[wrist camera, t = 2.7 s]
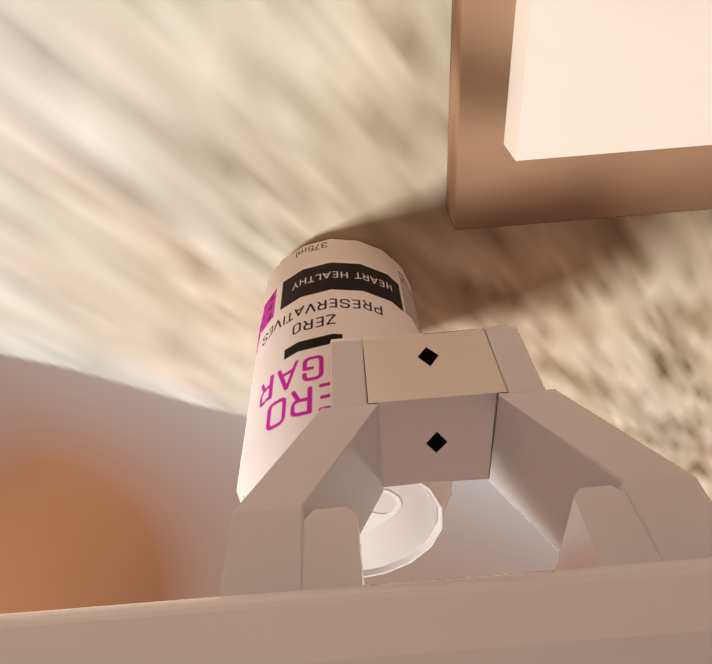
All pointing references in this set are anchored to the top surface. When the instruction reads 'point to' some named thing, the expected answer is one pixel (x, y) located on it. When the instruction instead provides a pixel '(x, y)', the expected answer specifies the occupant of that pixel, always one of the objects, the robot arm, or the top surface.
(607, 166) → the brown square tile
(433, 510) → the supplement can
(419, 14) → the top surface
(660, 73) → the cream rectangular block
